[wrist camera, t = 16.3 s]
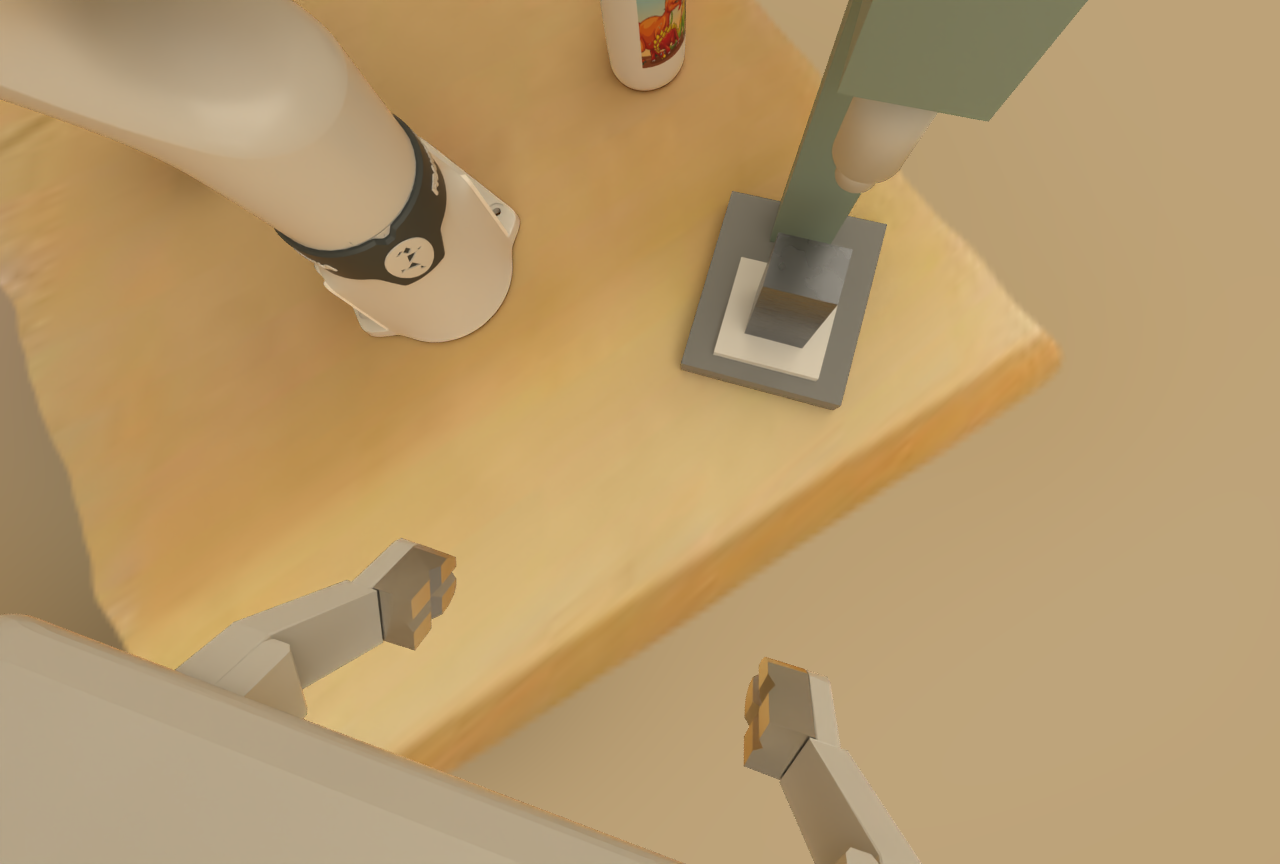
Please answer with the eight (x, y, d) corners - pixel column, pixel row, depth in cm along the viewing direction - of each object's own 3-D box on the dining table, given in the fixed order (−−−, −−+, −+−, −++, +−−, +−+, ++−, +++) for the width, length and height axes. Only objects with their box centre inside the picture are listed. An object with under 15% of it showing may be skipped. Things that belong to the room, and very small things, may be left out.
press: (919, 433, 40) (2149, 104, 7) (680, 369, 43) (683, -100, 9) (961, 255, 42) (2081, -710, 8) (730, 204, 45) (881, -686, 11)
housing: (744, 333, 40) (762, 286, 31) (756, 290, 40) (778, 232, 31) (802, 348, 39) (837, 304, 30) (814, 305, 40) (852, 249, 31)
